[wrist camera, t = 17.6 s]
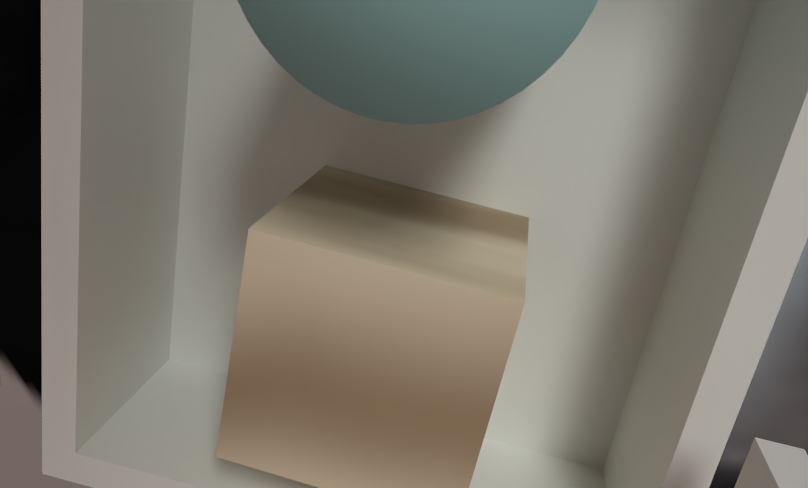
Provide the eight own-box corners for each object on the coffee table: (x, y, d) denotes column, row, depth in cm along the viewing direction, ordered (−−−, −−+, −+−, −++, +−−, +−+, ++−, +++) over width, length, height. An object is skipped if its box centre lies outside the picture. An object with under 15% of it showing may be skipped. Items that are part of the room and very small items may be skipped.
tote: (194, -376, 15) (39, -539, 10) (886, -278, 14) (1065, -416, 9) (151, 367, 21) (41, 473, 17) (623, 487, 20) (648, 640, 15)
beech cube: (325, 165, 18) (248, 228, 13) (528, 217, 17) (524, 302, 13) (293, 344, 19) (215, 456, 15) (477, 396, 19) (456, 528, 14)
